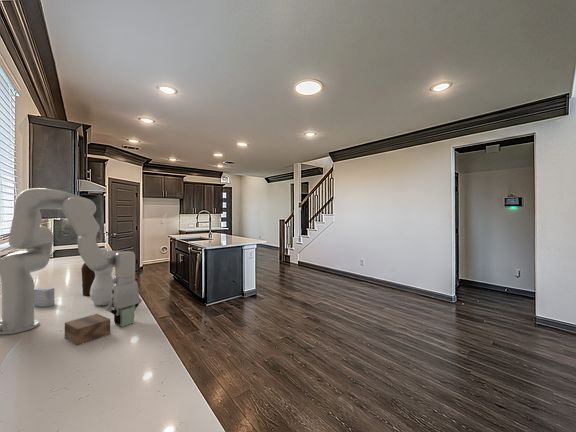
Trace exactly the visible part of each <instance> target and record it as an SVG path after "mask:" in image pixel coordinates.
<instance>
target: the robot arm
mask: <svg viewBox="0 0 576 432" xmlns="http://www.w3.org/2000/svg"><path fill="white" fill-rule="evenodd" d="M13 207H14V208H13V217H12V220H11V226H10V230H9V231H10V232H9V236H8V245H9V246H10V247H11V248H12V249H15V250H22V251H17V252H13V253H9V254H7V255H6V254H5V256H3V257H2V258H1V259H0V282H1V284H0V285H1V319H0V335H3V336H5V335H12V334H19V333H23V332H27V331H29V330H32V329H34V328H36V327H38V326H39V325H40V320H39V319H35V306H34V290H35V282H34V278H33V276H32V275H31V273H35V272H37V271H41V270H43V269H45V268H46V266H48V263H49V262H50V259H51V254H52V253H51V252H52V248H53V244H54V234H53V231H52V230H51V229H50V228H49V227H47V226H44V225H41V223H42V212H41V210H42V209H44V210H45V209H46V210H61V211H62V213H63V215H64V216H65V219H67V221H68V223H69V224H70V226H71V228H72V229H73V231H74V232H75V234H76V236H77V249H78V250H77V251H78V253H79V256H80V258H81V259H82V261H83V262H84V263H85V264H86V265H87V266H88V267H89V268H90V269H91V270H93V271H96V272H99V271H103V270H106V269H108V268H112V267H113V268H114V278H113V280H112V281H111V282H112V283H115V284H113V287H112V292H111V302H110V304H107V305H106V307H105V311H107V312H109V313H110V314H112V315H113V322H114V325H116V324H118V325H119V324H120V315H119V313H120V309H121V308H125V307H129V306H132V307H134V312H135V311H136V310H137V307H138V306H139V304H141V303H142V301H143V300H142V298H141V297H140V294H139V293H140V291H139V285H138V281H137V280H136V254H135V252H134V251H131V250H127V251H126V250H125V251H117V250H106V251H105V252H101V250H100V247H99V244H98V243H97V242H98V241H97V235H98V233H99V231H100V229H101V228H100V225H99V223H98V221H97V220H96V219H95V217H94V214H95V213H96V211H97V205H96V204H95V202H94V201H93V200H91V199H89V198H87V197H83V196H80V195H77V194H74V193H71V192H68V191H65V190H60V189H51V188H44V187H42V188H41V187H32V188H28V189H24V190H23V191H22V192H20V193H19V194H18V195H17V196H16V198H15V200H14V206H13ZM24 250H25V251H24ZM112 308H113V309H112ZM118 325H117V326H118Z"/></svg>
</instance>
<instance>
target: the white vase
mask: <svg viewBox="0 0 576 432" xmlns="http://www.w3.org/2000/svg"><path fill="white" fill-rule="evenodd" d="M99 248H100V247H99ZM108 249H109V248H108V247H101V248H100V250H101V252H105V251H108ZM113 269H114V267H112V268H108V269H106V270H103V271H99V272H96V271H94V272H95V279H94V281H93V283H92V286H91V289H90V296H89V297H90V300H91V301H92V303H93V304H94V305H96V306H101V305H102V306H108V305H109V304H110V302H111V292H112V287H113V284H115V283H112V282H111V281H112V280H113V279H114V278H113V276H112V273H113ZM102 306H101V307H102Z"/></svg>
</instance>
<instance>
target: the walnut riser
mask: <svg viewBox="0 0 576 432" xmlns="http://www.w3.org/2000/svg"><path fill="white" fill-rule="evenodd" d="M108 334H109V335H111V318H108V317H106V316H104V315H101V314H99V313H94V314H91V315H88V316H84V317H81V318H77V319H73V320H69V321H65V322H64V339H65V340H67V341H68V342H70V343H72V344H74V345H76V347H77V346H81V345H83V343H84V344H87V343H89V342H92V341H95V340H98V339H100V337H101V338H103V337H102V336H104V337H106V336H105V335H107V336H109V335H108ZM97 338H98V339H97ZM94 339H95V340H94ZM91 340H92V341H91ZM88 341H89V342H88ZM86 342H87V343H86Z"/></svg>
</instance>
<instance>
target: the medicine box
mask: <svg viewBox="0 0 576 432" xmlns="http://www.w3.org/2000/svg"><path fill="white" fill-rule="evenodd" d="M53 305H55V288H54V287H38V288H34V307H44V308H47V307H50V306H53Z"/></svg>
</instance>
